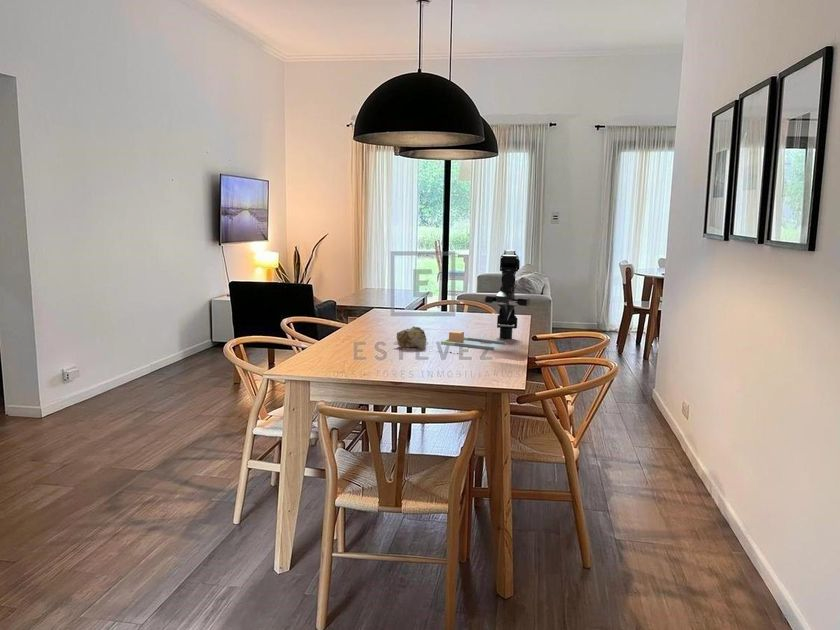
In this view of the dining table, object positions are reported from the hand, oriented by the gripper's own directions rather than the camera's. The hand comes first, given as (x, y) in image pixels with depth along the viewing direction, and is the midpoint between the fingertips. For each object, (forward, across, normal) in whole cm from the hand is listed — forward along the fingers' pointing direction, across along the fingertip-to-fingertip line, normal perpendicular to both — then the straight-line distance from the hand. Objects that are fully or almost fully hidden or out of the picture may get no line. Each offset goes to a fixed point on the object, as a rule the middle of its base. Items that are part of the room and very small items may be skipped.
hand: (506, 320), depth 270 cm
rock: (+12, -35, -21) cm, 43 cm away
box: (+12, -12, -7) cm, 19 cm away
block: (+10, -20, -8) cm, 24 cm away
